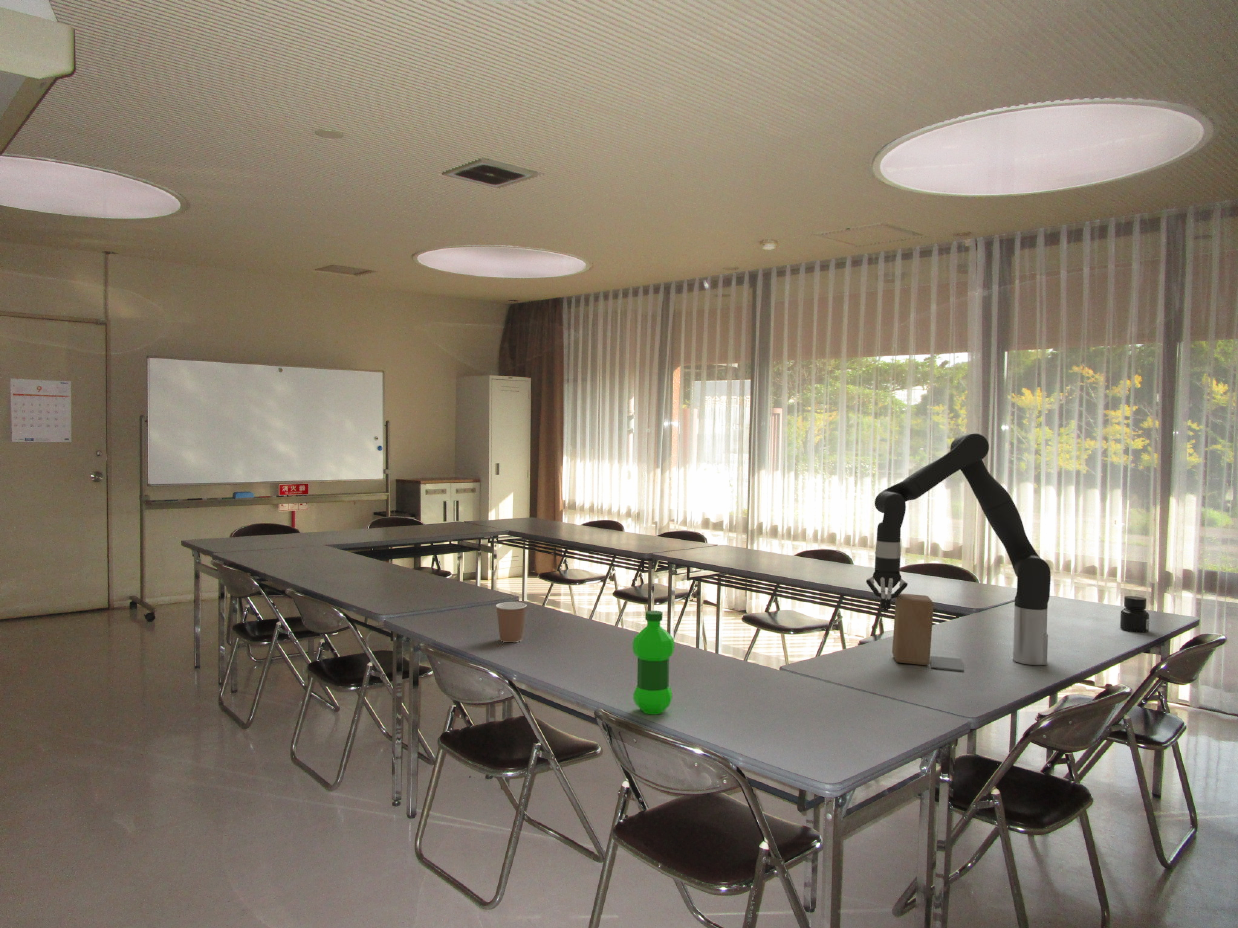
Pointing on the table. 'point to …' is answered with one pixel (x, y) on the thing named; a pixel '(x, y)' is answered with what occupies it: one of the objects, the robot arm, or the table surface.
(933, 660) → the mat
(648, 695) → the plastic bottle
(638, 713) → the table surface
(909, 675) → the table surface
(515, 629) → the coffee cup
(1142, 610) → the ink bottle
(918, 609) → the block
